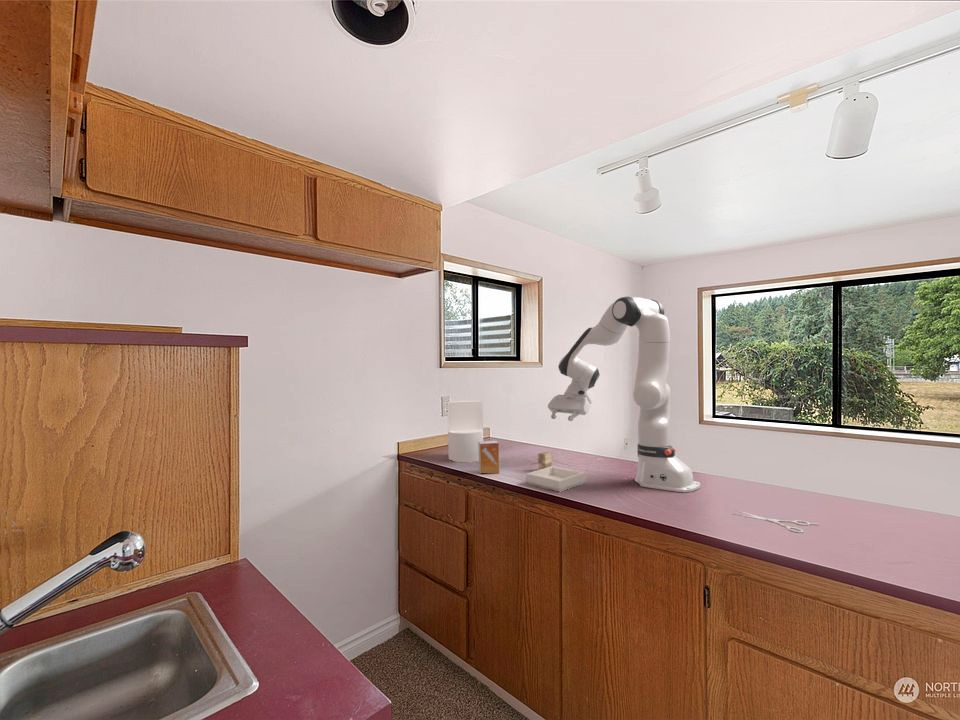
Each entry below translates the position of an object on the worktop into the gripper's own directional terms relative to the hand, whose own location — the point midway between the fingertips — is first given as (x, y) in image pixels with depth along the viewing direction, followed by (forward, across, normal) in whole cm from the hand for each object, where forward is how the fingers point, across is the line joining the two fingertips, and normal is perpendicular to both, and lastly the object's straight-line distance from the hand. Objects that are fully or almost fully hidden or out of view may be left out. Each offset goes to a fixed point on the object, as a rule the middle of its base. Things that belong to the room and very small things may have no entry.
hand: (561, 419), depth 197 cm
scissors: (+24, +85, +4) cm, 88 cm away
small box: (+37, -15, -6) cm, 40 cm away
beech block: (+23, +1, +6) cm, 24 cm away
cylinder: (+29, -43, +2) cm, 52 cm away
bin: (+32, +17, -3) cm, 37 cm away
